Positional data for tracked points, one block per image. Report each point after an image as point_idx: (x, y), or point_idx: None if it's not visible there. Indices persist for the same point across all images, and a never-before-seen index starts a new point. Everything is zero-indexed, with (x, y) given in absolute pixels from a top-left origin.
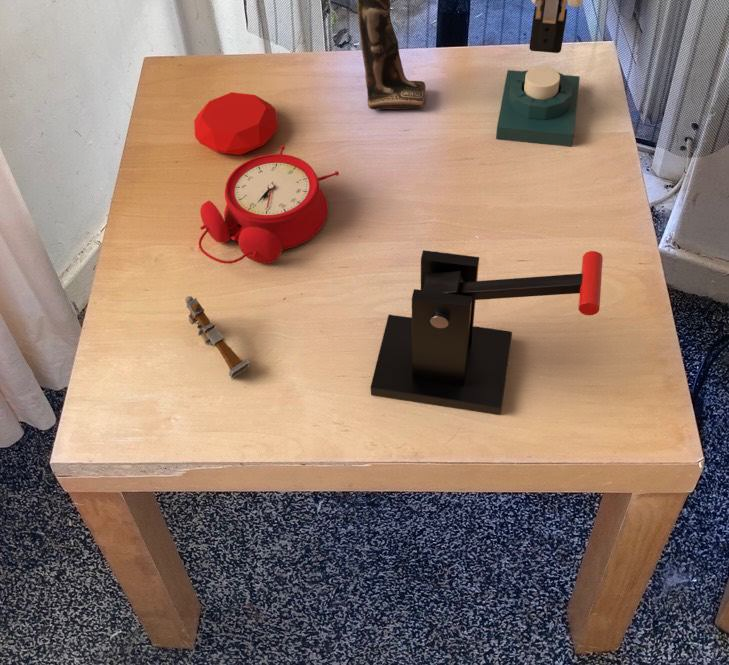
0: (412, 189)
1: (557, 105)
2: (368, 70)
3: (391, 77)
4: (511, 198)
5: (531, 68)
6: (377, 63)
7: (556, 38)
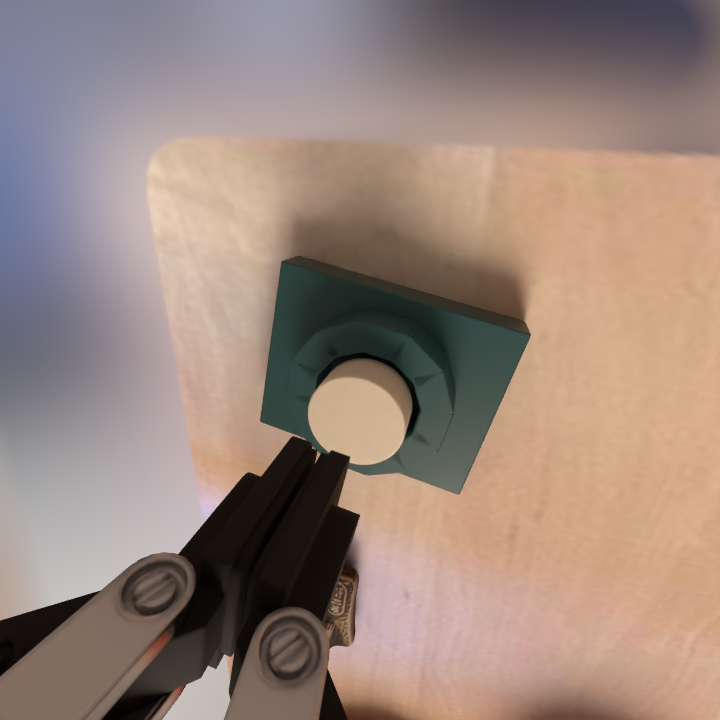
0: (579, 635)
1: (447, 381)
2: None
3: None
4: (680, 496)
5: (317, 439)
6: None
7: (326, 515)
